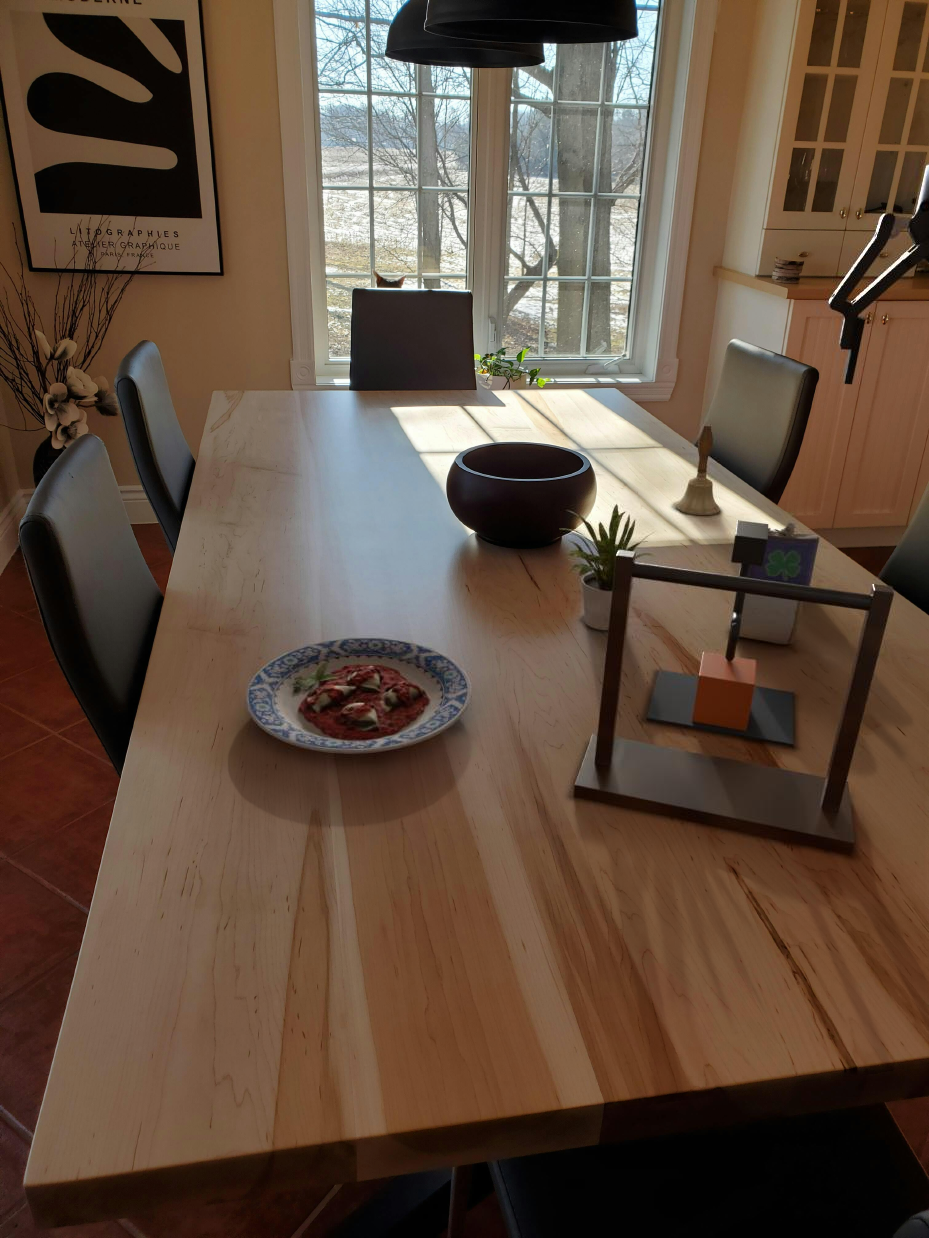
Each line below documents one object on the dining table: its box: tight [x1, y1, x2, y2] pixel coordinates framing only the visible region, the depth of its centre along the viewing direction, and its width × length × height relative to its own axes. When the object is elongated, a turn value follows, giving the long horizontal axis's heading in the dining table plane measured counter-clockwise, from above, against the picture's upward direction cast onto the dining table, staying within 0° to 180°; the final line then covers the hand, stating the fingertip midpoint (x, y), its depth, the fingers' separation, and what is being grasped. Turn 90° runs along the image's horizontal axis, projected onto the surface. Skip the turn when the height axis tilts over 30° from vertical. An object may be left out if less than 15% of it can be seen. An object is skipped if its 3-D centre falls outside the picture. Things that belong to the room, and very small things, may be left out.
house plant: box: [560, 503, 655, 631], centre depth 123 cm, size 14×14×16 cm
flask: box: [748, 521, 820, 586], centre depth 135 cm, size 9×3×11 cm, turn 80°
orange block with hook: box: [692, 520, 769, 731], centre depth 99 cm, size 6×6×22 cm
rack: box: [573, 550, 895, 856], centre depth 85 cm, size 26×10×24 cm, turn 72°
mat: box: [646, 669, 795, 748], centre depth 106 cm, size 16×12×1 cm
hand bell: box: [674, 424, 721, 516], centre depth 168 cm, size 8×8×16 cm
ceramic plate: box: [245, 636, 473, 755], centre depth 104 cm, size 26×26×3 cm
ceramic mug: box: [739, 594, 804, 645], centre depth 122 cm, size 11×8×8 cm
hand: (916, 387), depth 94 cm, fingers open, 13 cm apart
